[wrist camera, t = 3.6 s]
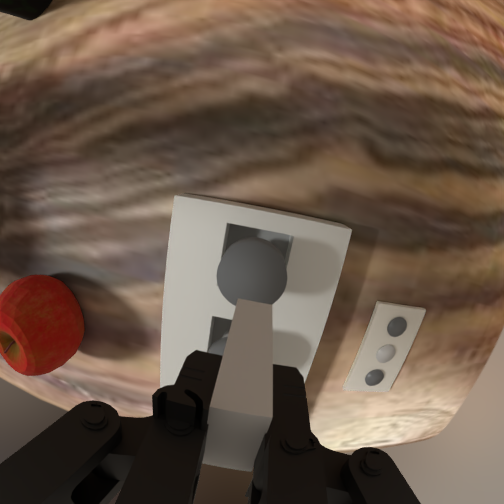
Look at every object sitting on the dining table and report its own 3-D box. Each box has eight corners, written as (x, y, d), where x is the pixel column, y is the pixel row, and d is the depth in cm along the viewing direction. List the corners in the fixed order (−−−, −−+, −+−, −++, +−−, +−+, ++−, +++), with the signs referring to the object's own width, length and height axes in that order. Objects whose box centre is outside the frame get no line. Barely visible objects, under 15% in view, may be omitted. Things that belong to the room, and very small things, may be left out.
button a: (222, 278, 24) (212, 302, 19) (231, 224, 23) (222, 237, 18) (276, 289, 24) (278, 315, 19) (288, 235, 23) (294, 251, 18)
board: (167, 398, 31) (160, 414, 28) (185, 193, 25) (174, 195, 22) (281, 420, 31) (281, 437, 28) (342, 223, 25) (352, 229, 22)
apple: (19, 288, 29) (-35, 320, 18) (58, 248, 27) (-10, 279, 16) (62, 356, 31) (19, 401, 20) (109, 330, 29) (58, 385, 18)
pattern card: (342, 386, 29) (344, 391, 28) (377, 300, 26) (380, 304, 25) (386, 388, 29) (388, 393, 28) (423, 307, 26) (427, 311, 25)
